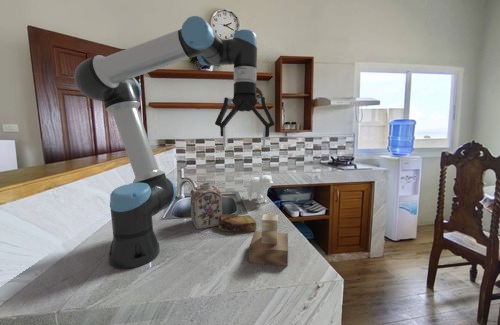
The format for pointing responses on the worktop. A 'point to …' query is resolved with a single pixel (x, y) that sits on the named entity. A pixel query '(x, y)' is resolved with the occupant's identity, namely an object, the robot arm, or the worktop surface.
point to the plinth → (269, 250)
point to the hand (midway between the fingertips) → (244, 146)
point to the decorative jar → (206, 205)
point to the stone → (236, 223)
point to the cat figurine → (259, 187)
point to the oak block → (269, 229)
